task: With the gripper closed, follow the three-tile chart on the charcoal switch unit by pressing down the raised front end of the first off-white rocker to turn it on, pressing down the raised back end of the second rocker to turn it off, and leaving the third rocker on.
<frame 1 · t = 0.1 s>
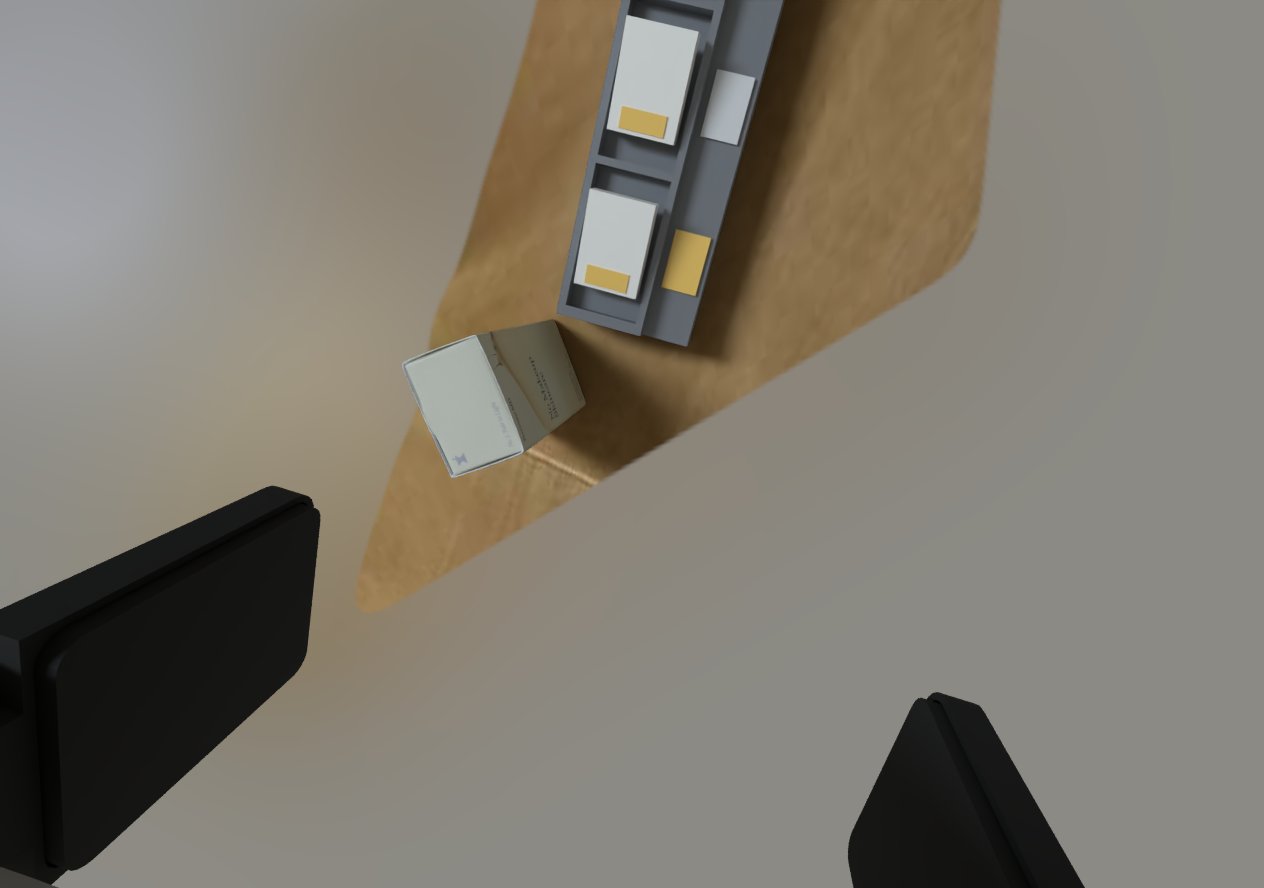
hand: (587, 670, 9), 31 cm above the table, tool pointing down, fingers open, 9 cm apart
switch unit: (682, 110, 35), on the table
rocker 2: (652, 83, 31), point 4 cm above the table, hinge at 10.0°
skincare box: (541, 370, 41), on the table
rocker 3: (615, 244, 33), point 4 cm above the table, hinge at 10.0°
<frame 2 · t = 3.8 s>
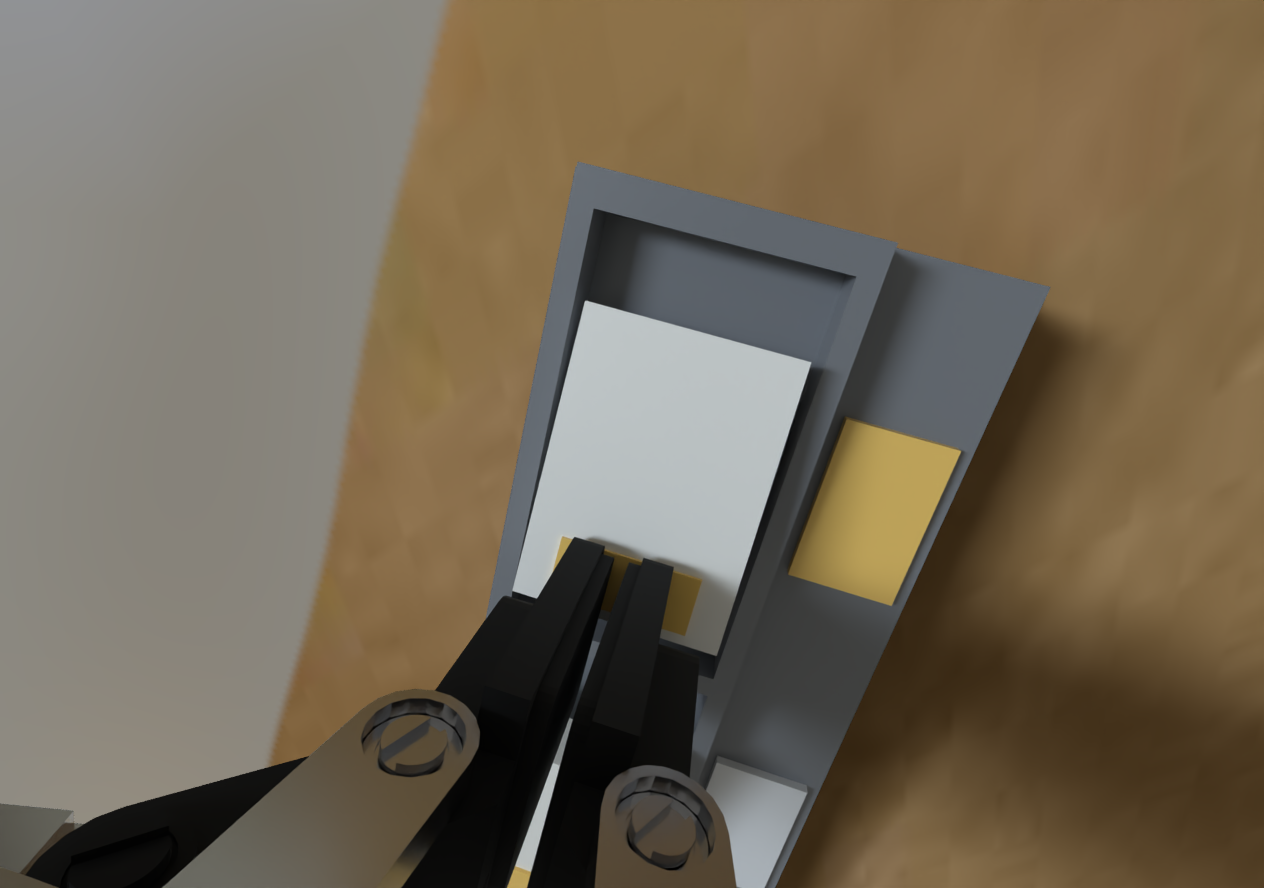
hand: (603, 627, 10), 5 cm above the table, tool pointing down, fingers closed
switch unit: (645, 696, 17), on the table
rocker 2: (559, 820, 13), point 4 cm above the table, hinge at 10.0°
rocker 1: (655, 477, 10), point 4 cm above the table, hinge at -8.4°, touching gripper
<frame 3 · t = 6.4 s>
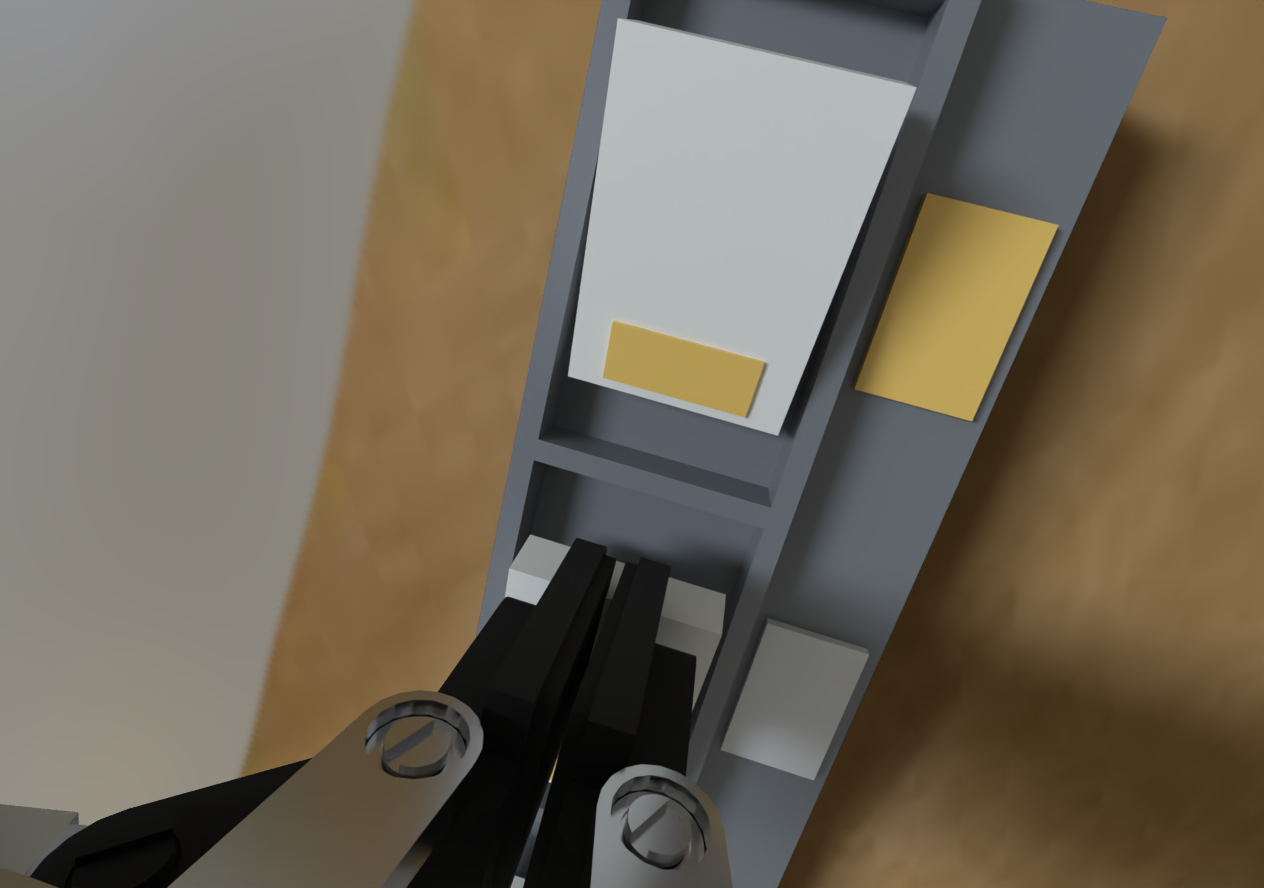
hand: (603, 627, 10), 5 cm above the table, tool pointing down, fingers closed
switch unit: (676, 586, 16), on the table
rocker 2: (593, 684, 11), point 4 cm above the table, hinge at 9.8°, touching gripper
rocker 1: (713, 249, 9), point 4 cm above the table, hinge at 17.9°
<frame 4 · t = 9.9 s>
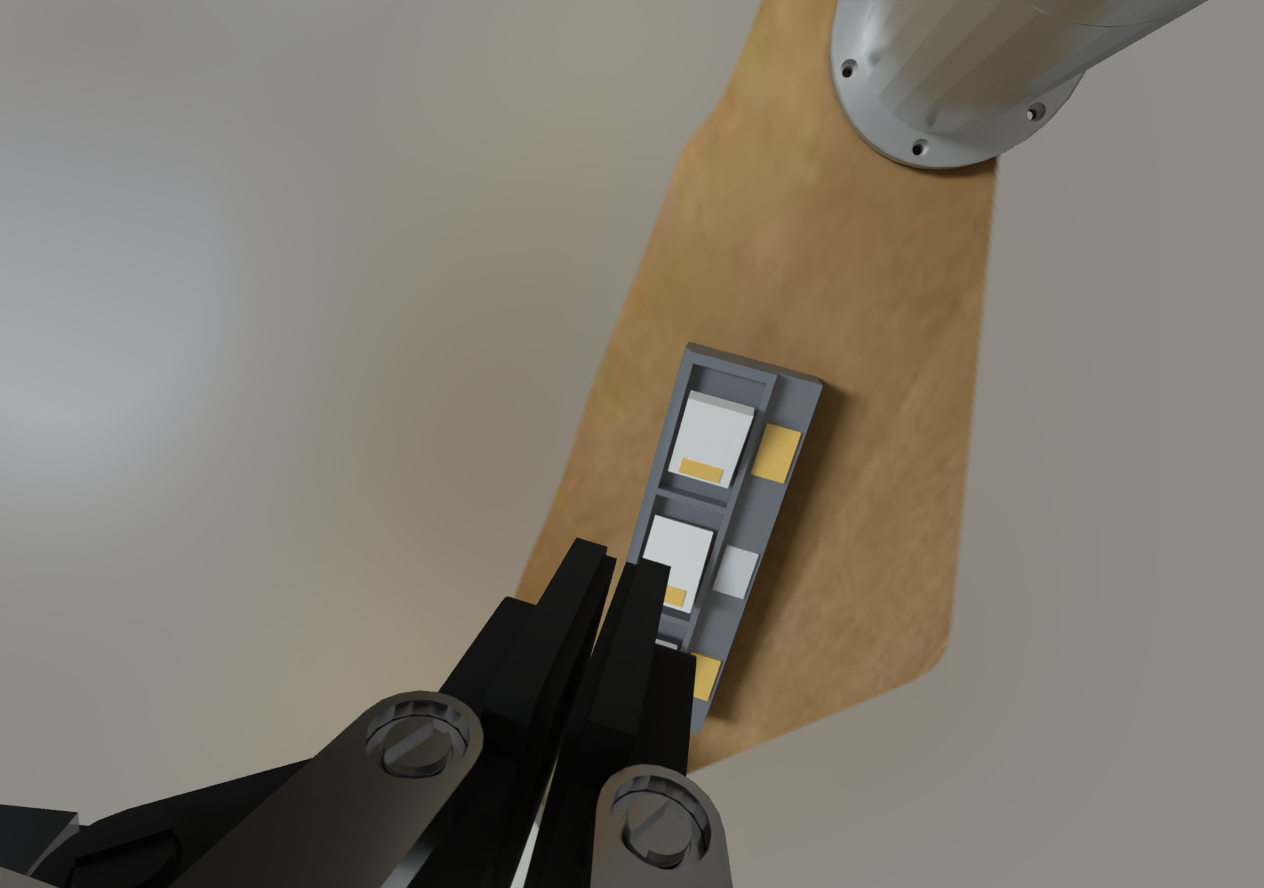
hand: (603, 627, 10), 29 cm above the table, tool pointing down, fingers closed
switch unit: (695, 538, 41), on the table
rocker 2: (672, 562, 37), point 4 cm above the table, hinge at -18.7°
rocker 1: (709, 440, 35), point 4 cm above the table, hinge at 16.5°
skincare box: (572, 712, 47), on the table
rocker 3: (639, 670, 39), point 4 cm above the table, hinge at 10.0°
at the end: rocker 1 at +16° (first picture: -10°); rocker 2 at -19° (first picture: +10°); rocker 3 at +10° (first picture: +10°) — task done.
